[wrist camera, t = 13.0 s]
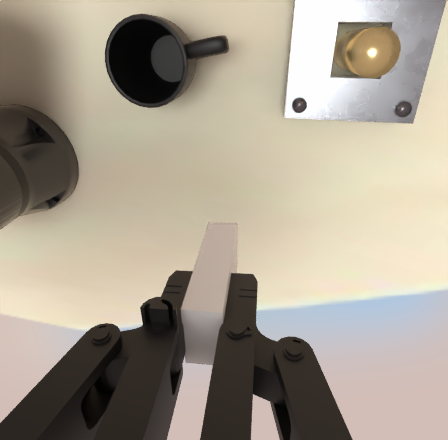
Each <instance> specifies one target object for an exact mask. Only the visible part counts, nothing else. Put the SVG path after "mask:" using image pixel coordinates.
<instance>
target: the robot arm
mask: <svg viewBox="0 0 448 440" xmlns="http://www.w3.org/2000/svg"><path fill="white" fill-rule="evenodd" d="M77 178H78V164H77V159H76V155H75V152H74V150H73V148H72V145H71V144H70V142H69V140H68V138H67V137H66V136H65V134H64V133H63V132H62V130H61V129H60V128H59V127H58V126H57V125H56V124H55V123H54V122H53V121H52V120H50V119H49V118H48V117H46V116H45V115H43V114H42V113H40V112H38V111H36V110H34V109H31V108H28V107H25V106H20V105H5V106H0V229H2V228H3V227H4V226H6V225H7V224H9V223H10V222H11V221H13V220H14V219H16V218H17V217H18V216H22V215H27V214H31V213H36V212H41V211H45V210H49V209H51V208H53V207H55V206H57V205H58V204H60V203H61V202H62V201H64V200H65V199H66V198H67V197H69V195H70V194H71V193H72V192H73V190H74V188H75V186H76V183H77ZM236 271H237V224H236V223H213V222H209V223H208V226H207V229H206V233H205V236H204V239H203V242H202V245H201V248H200V251H199V254H198V257H197V260H196V264H195V267H194V270H193V271H175V272H174V273H173V274H172V275H171V276H170V277H169V279H168V281H167V284H166V287H165V288H164V291H163V293H162V296H161V297H155V298H152V299H149V300H148V301H146V302H145V303H143V305H142V306H141V307H140V309H141V315H142V321H143V326H141V327H139V328H136V329H132V330H127V331H121V332H120V330H119V328H118V327H117V326H116V325H114V324H108V323H105V324H100V325H97V326H95V327H93V328H91V329H90V330H89V331H87V332H86V333H85V334H84V335H83V336H82V338H81V339H80V340H79V341H78V342H77V343H76V344H75V345H74V346H73V347H72V348H71V349H70V350H69V351H68V352H67V353H66V355H65V356H63V358H62V359H61V360H60V361H59V362H58V363H57V364H56V365H55V366H54V367H53V368H52V369H51V370H50V371H49V372H48V373H47V374H46V375H45V377H44V378H43V379H42V380H41V381H40V382H39V383H38V384H37V385H36V386H35V387H34V388H33V389H32V390H31V391H30V392H29V393H28V394H27V396H26V397H25V398H24V399H23V400H22V401H21V402H20V403H19V404H18V405H17V406H16V407H15V408H14V409H13V411H11V412H10V414H9V415H8V416H7V417H6V418H5V419H4V420H3V421H2V422H1V423H0V440H167V436H168V432H169V428H170V424H171V420H172V416H173V412H174V408H175V404H176V400H177V396H178V392H179V388H180V384H181V380H182V375H183V367H182V363H183V360H184V356H185V361H186V363H197V364H208V365H213V368H212V374H211V380H210V386H209V392H208V397H207V403H206V409H205V415H204V421H203V426H202V432H201V438H200V440H251V422H252V399H253V394H254V395H257V396H259V397H261V398H263V399H266V400H268V401H270V403H271V407H272V411H273V415H274V419H275V423H276V426H277V430H278V434H279V438H280V440H352V438H351V435H350V433H349V431H348V429H347V426H346V424H345V422H344V419H343V417H342V415H341V413H340V411H339V409H338V406H337V404H336V402H335V399H334V397H333V395H332V392H331V390H330V388H329V386H328V383H327V381H326V379H325V377H324V374H323V372H322V370H321V367H320V365H319V363H318V361H317V358H316V356H315V354H314V352H313V349H312V348H311V347H310V345H309V344H308V343H307V342H305V341H304V340H302V339H300V338H297V337H285V338H281V339H280V340H279V341H278V342H277V341H274V340H271V339H269V338H267V337H265V336H264V335H262V334H261V333H260V332H259V331H258V329H257V326H256V307H257V283H258V282H257V280H256V278H255V277H254V275H253V274H240V273H236Z"/></svg>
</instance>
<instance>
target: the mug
mask: <svg viewBox="0 0 448 440" xmlns="http://www.w3.org/2000/svg"><path fill="white" fill-rule="evenodd" d="M228 50H229V45H228V40H227V38H226V36H216V37H211V38H206V39H202V40H198V41H193V42H190V40H189V38H188V37H187V36H186V34H185V33H184V32H183V31H182V30H181V29H180V28H179V27H178V26H176V25H175V24H174V23H172V22H171V21H169V20H166V19H164V18H161V17H157V16H152V15H147V14H137V15H132V16H129V17H127V18H125V19H123V20H122V21H121V22H119V23H118V24H117V25H116V26H115V28H114V29H113V30H112V32H111V33H110V36H109V38H108V40H107V44H106V49H105V63H106V68H107V72H108V74H109V77H110V79H111V82H112V83H113V85H114V86H115V88H116V89H117V90H118V92H119V93H120V94H121V95H122V96H123V97H125V98H126V99H127V100H129V101H130V102H132V103H134V104H136V105H139V106H142V107H147V108H154V107H160V106H163V105H166V104H168V103H170V102H171V101H173V100H175V99H176V98H178V97H179V96H181V95H182V94H183V93H184V92H185V90H186V89H187V88H188V86H189V85H190V83H191V81H192V79H193V76H194V73H195V66H196V59H198V58H203V57H208V56H213V55H218V54H222V53H227V52H228Z"/></svg>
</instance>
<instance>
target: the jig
mask: <svg viewBox="0 0 448 440" xmlns="http://www.w3.org/2000/svg"><path fill="white" fill-rule="evenodd" d="M445 3H446V0H294V9H293V20H292V30H291V41H290V51H289V62H288V72H287V83H286V93H285V104H284V118H299V119H322V120H345V121H368V122H391V123H413V121H414V118H415V114H416V110H417V107H418V103H419V99H420V96H421V92H422V88H423V85H424V81H425V77H426V73H427V70H428V66H429V62H430V59H431V55H432V51H433V48H434V44H435V40H436V37H437V33H438V29H439V25H440V22H441V18H442V14H443V11H444V7H445ZM338 23H367V24H383V26H382V27H387V28H389V29H391V30H393V31H394V32H395V33H396V34H397V36H398V37H399V40H400V44H401V51H400V56H399V59H398V61H397V63H396V64H395V66H394V67H393V68H392V69H391V70H390V71H389V72H388V73H386V74H385V75H383V76H381V77H378V78H365V77H363V76H351V75H330V74H331V67H332V60H333V54H334V47H335V40H336V34H337V27H338Z"/></svg>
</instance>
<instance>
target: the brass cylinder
mask: <svg viewBox="0 0 448 440" xmlns="http://www.w3.org/2000/svg"><path fill="white" fill-rule="evenodd" d="M400 51H401V44H400V40H399V37H398V36H397V34H396V33H395V32H394V31H393V30H391V29H389V28H387V27H373V28H366V29H359V30H353V31H349V32H347V33H345V34H344V35H342V36H341V37H340V39H339V40H338V41H337V43H336V45H335V49H334V58H335V61H336V63H337V64H338V65H339V66H340V67H341V68H343V69H345V70H347V71H350V72H353V73H355V74H358V75H360V76H363V77H365V78H378V77H381V76H383V75H385V74H386V73H388V72H389V71H390V70H391V69H392V68H393V67H394V66H395V64H396V63H397V61H398V59H399V56H400Z"/></svg>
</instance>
